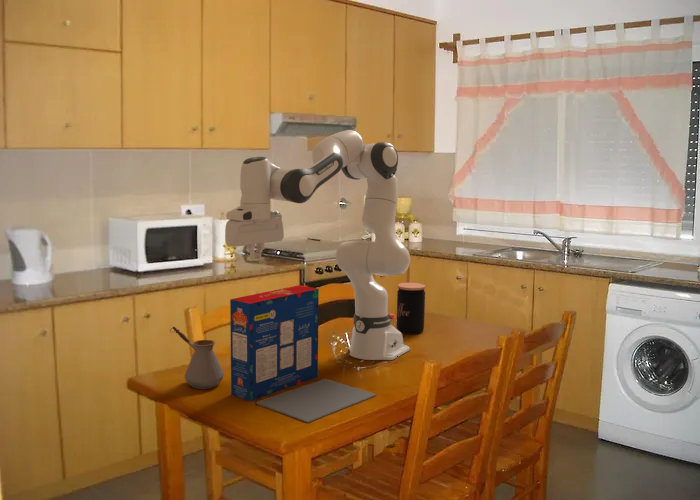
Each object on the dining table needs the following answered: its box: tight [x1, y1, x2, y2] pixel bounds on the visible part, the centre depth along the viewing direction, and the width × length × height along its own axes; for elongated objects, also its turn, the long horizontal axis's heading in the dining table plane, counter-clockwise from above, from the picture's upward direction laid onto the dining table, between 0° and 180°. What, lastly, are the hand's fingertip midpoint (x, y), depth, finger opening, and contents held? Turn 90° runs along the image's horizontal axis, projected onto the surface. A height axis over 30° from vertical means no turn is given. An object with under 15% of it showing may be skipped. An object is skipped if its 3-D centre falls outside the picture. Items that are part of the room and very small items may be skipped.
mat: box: [255, 378, 377, 424], centre depth 202 cm, size 28×20×1 cm
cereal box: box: [229, 284, 320, 402], centre depth 211 cm, size 28×8×28 cm, turn 140°
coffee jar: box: [395, 282, 426, 335], centre depth 277 cm, size 11×11×18 cm
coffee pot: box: [169, 326, 225, 390], centre depth 215 cm, size 21×12×15 cm, turn 49°
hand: (255, 258), depth 213 cm, fingers closed
